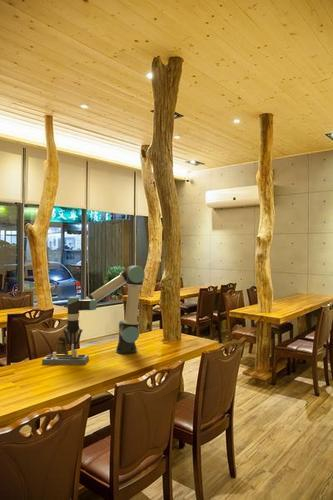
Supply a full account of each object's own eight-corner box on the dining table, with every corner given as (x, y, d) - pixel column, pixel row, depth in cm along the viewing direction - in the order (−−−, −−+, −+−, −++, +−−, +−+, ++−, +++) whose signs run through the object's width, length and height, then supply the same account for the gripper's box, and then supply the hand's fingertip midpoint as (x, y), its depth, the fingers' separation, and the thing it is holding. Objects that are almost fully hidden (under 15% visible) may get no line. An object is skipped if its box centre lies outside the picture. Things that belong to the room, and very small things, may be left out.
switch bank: (88, 359, 246) (88, 354, 246) (84, 364, 234) (84, 359, 234) (48, 358, 246) (48, 354, 246) (42, 364, 234) (42, 359, 234)
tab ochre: (78, 357, 245) (78, 349, 245) (77, 358, 241) (77, 350, 241) (72, 357, 244) (72, 349, 245) (71, 358, 241) (71, 350, 241)
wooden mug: (63, 357, 250) (63, 331, 251) (52, 353, 259) (52, 328, 259) (73, 354, 257) (74, 329, 257) (63, 351, 266) (63, 327, 266)
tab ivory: (58, 359, 239) (58, 351, 239) (56, 360, 236) (56, 353, 236) (52, 359, 239) (52, 351, 239) (50, 360, 236) (50, 353, 236)
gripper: (83, 318, 247) (83, 352, 247) (65, 318, 247) (65, 352, 247) (81, 320, 240) (81, 355, 239) (62, 320, 240) (61, 355, 239)
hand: (72, 354), depth 243 cm, fingers closed
